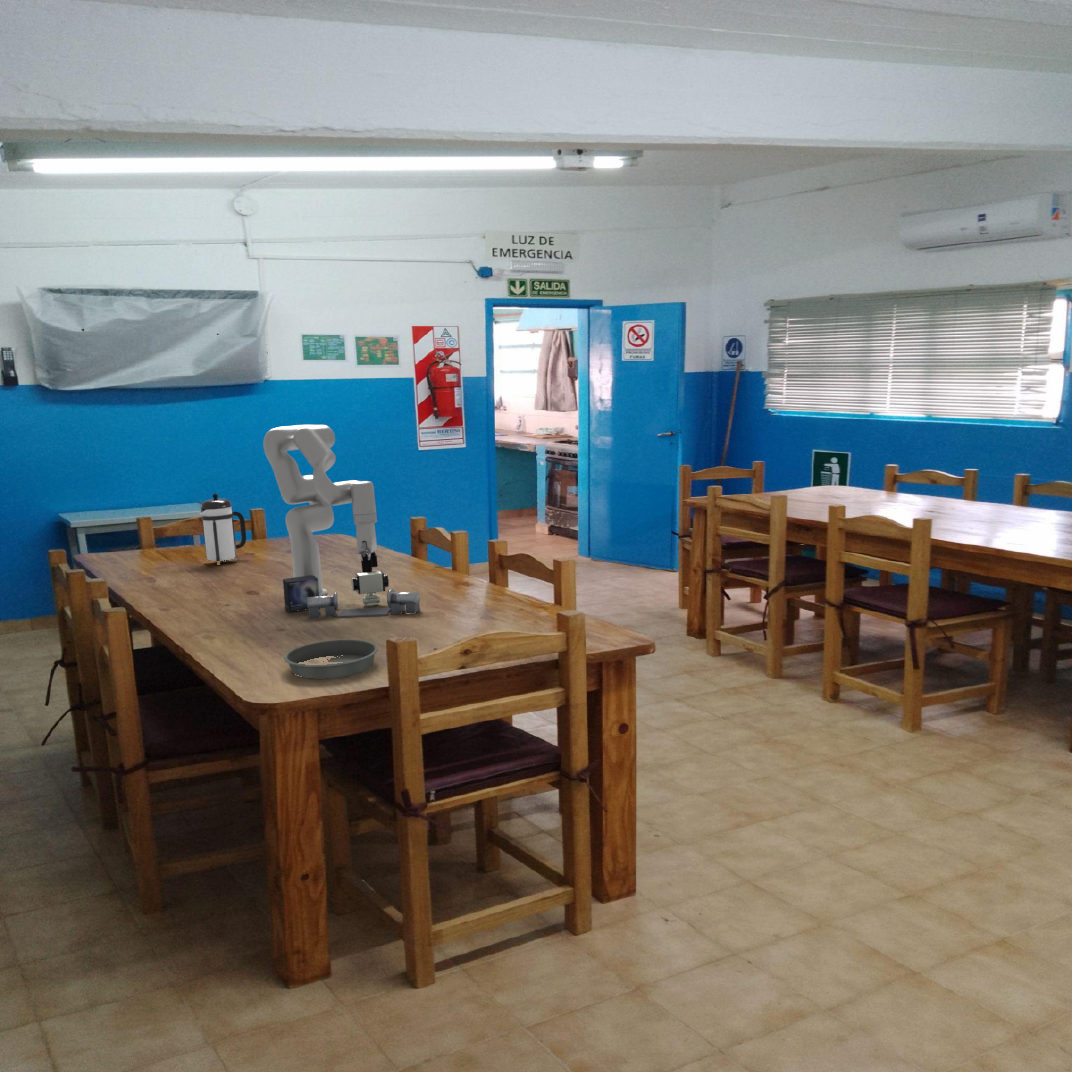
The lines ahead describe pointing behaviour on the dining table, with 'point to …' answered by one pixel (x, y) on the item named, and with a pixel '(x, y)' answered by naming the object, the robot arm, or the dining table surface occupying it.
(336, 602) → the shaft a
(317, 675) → the cake pan
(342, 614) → the pad
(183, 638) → the dining table surface
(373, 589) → the pneumatic valve
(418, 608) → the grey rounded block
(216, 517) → the coffee press
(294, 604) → the small box
